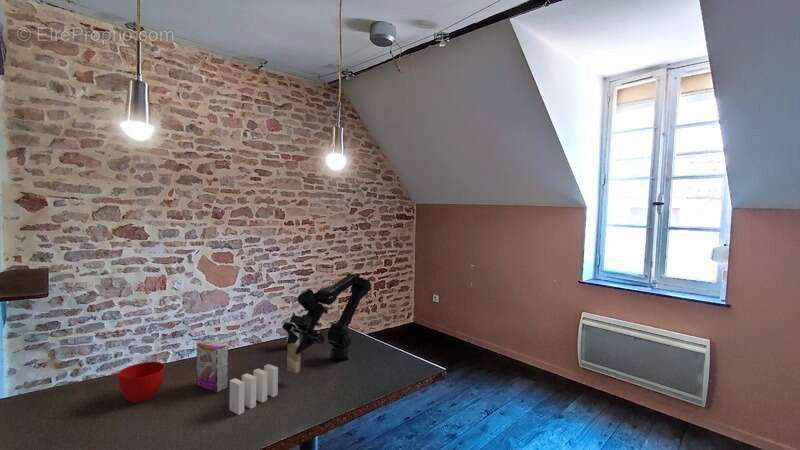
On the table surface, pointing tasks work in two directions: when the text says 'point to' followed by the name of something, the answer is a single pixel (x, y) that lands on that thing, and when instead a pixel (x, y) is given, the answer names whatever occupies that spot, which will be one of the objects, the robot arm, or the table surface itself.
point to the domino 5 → (293, 358)
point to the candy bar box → (212, 365)
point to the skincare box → (297, 335)
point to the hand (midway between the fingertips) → (291, 352)
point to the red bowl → (141, 381)
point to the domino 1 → (237, 396)
